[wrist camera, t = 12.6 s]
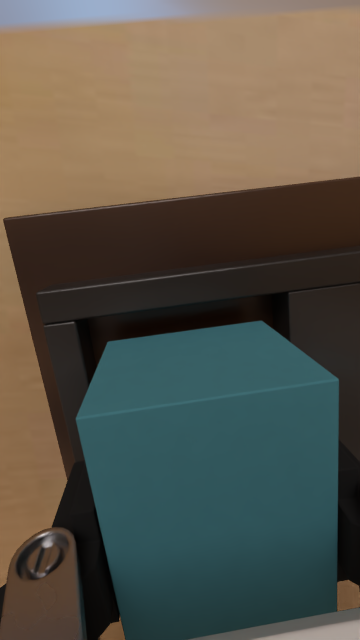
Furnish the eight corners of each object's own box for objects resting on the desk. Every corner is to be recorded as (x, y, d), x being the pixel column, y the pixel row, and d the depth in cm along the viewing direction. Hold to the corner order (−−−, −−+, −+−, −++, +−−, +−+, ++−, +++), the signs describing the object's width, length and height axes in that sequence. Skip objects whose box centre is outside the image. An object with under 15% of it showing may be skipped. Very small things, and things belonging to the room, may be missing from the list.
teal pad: (107, 341, 10) (74, 418, 6) (261, 320, 10) (339, 378, 6) (144, 540, 12) (139, 706, 8) (272, 518, 13) (337, 667, 8)
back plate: (17, 219, 11) (-24, 214, 9) (551, 157, 12) (658, 136, 10) (99, 569, 15) (89, 637, 13) (495, 501, 16) (560, 551, 14)
